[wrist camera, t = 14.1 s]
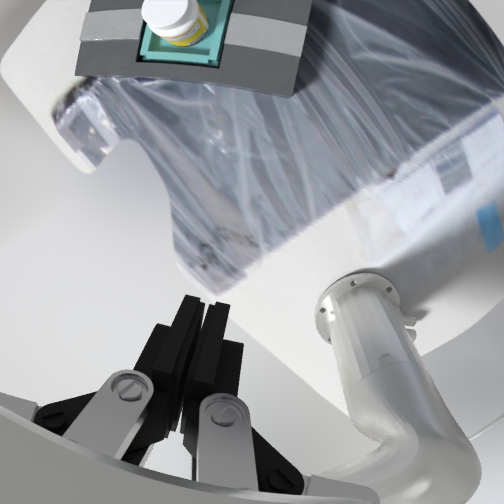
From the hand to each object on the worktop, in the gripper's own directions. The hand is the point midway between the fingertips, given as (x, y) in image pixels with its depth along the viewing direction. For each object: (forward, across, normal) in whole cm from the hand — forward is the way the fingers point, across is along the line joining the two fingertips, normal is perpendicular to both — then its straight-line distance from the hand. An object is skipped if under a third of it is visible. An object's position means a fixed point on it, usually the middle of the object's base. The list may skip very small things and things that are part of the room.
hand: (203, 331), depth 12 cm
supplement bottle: (+24, +10, -16) cm, 30 cm away
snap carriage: (+25, +10, -17) cm, 32 cm away
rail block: (+26, +10, -17) cm, 33 cm away
